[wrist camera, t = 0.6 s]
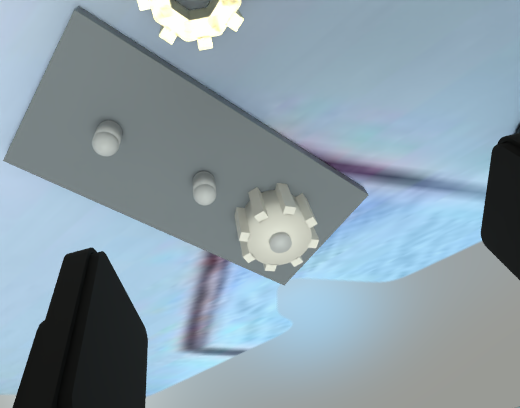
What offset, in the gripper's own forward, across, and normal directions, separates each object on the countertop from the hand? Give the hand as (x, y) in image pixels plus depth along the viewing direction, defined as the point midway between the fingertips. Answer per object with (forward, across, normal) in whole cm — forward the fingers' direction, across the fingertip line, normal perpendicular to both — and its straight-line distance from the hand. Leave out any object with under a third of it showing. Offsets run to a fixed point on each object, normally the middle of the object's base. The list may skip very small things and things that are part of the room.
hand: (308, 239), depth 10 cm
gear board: (+28, +4, +13) cm, 31 cm away
